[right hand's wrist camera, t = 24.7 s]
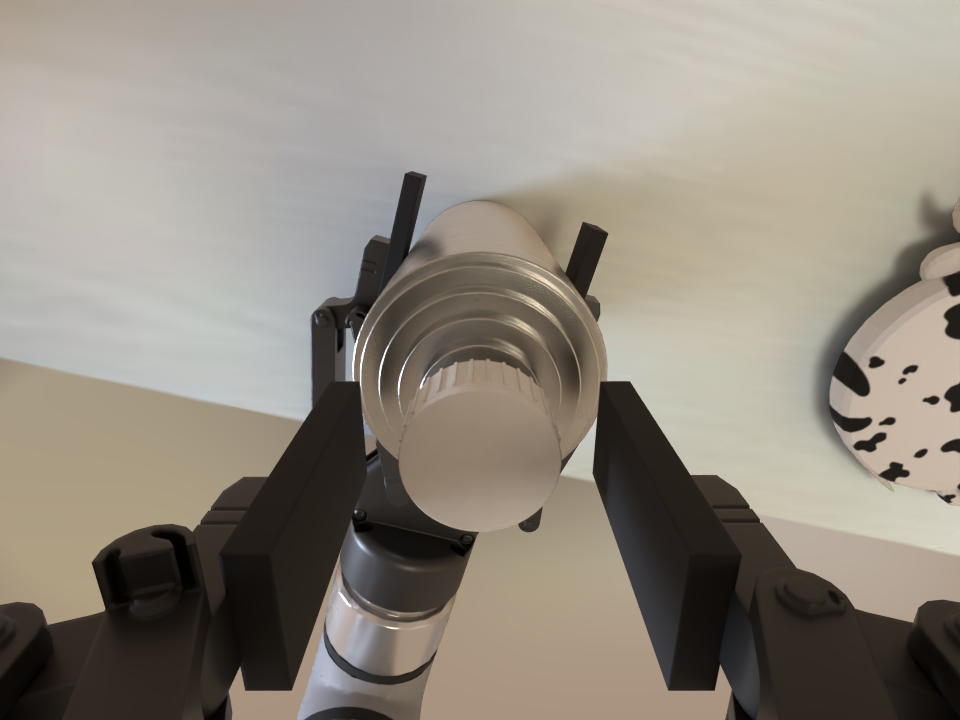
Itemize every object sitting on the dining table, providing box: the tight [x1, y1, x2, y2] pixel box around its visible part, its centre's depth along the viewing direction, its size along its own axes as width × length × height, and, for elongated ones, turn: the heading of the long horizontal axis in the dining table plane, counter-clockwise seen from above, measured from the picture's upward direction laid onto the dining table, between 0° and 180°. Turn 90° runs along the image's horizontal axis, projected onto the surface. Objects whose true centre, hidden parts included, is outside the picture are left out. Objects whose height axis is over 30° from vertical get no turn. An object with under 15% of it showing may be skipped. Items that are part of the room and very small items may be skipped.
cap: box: [398, 359, 562, 532], centre depth 14 cm, size 4×4×2 cm
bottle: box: [353, 201, 607, 460], centre depth 24 cm, size 8×8×22 cm
